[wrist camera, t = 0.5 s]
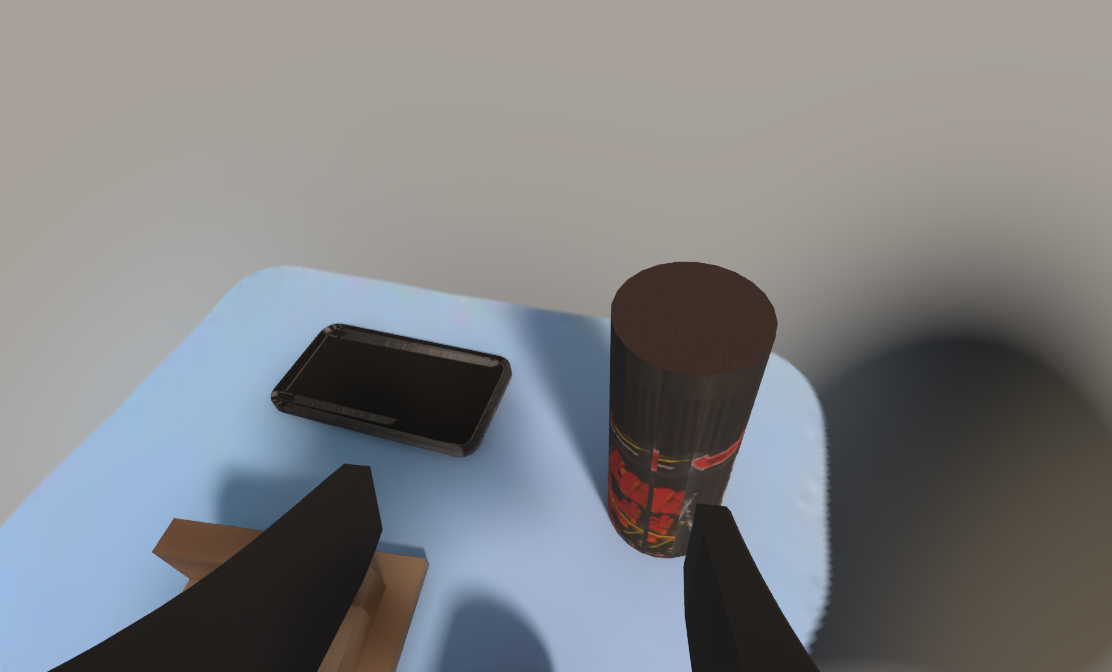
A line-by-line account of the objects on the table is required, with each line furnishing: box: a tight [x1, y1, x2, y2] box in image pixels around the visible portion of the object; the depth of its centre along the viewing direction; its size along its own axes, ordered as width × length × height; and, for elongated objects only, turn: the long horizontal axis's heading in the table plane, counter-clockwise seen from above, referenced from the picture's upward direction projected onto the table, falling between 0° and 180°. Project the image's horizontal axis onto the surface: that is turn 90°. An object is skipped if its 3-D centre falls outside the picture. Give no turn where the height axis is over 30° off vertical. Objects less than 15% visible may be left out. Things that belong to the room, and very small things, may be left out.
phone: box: [271, 324, 512, 457], centre depth 38 cm, size 8×1×15 cm
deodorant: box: [608, 262, 778, 558], centre depth 26 cm, size 6×6×15 cm
